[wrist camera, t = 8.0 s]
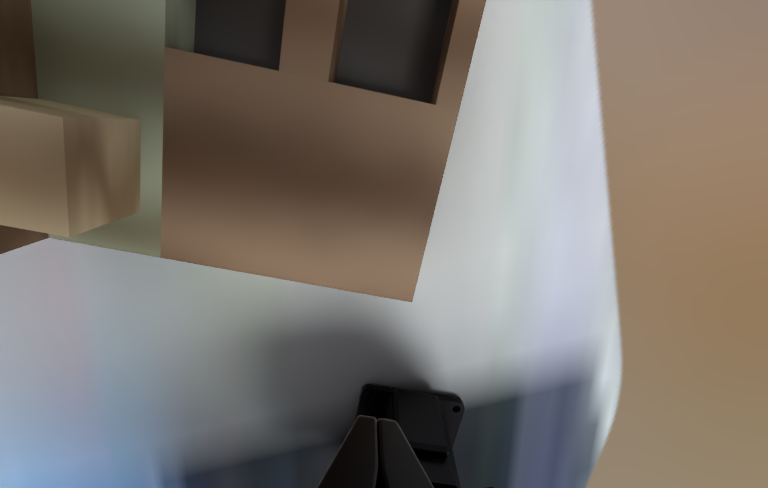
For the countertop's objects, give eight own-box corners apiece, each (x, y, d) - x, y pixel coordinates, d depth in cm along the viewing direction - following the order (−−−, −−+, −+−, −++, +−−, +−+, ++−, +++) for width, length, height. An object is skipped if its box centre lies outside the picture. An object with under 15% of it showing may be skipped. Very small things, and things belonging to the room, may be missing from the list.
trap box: (407, 278, 21) (417, 335, 15) (77, 217, 20) (-47, 255, 14) (480, -29, 17) (532, -109, 11) (59, -130, 15) (-131, -281, 10)
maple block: (140, 211, 17) (69, 237, 13) (47, 194, 16) (-54, 215, 13) (140, 119, 16) (62, 117, 12) (40, 99, 15) (-73, 90, 11)
